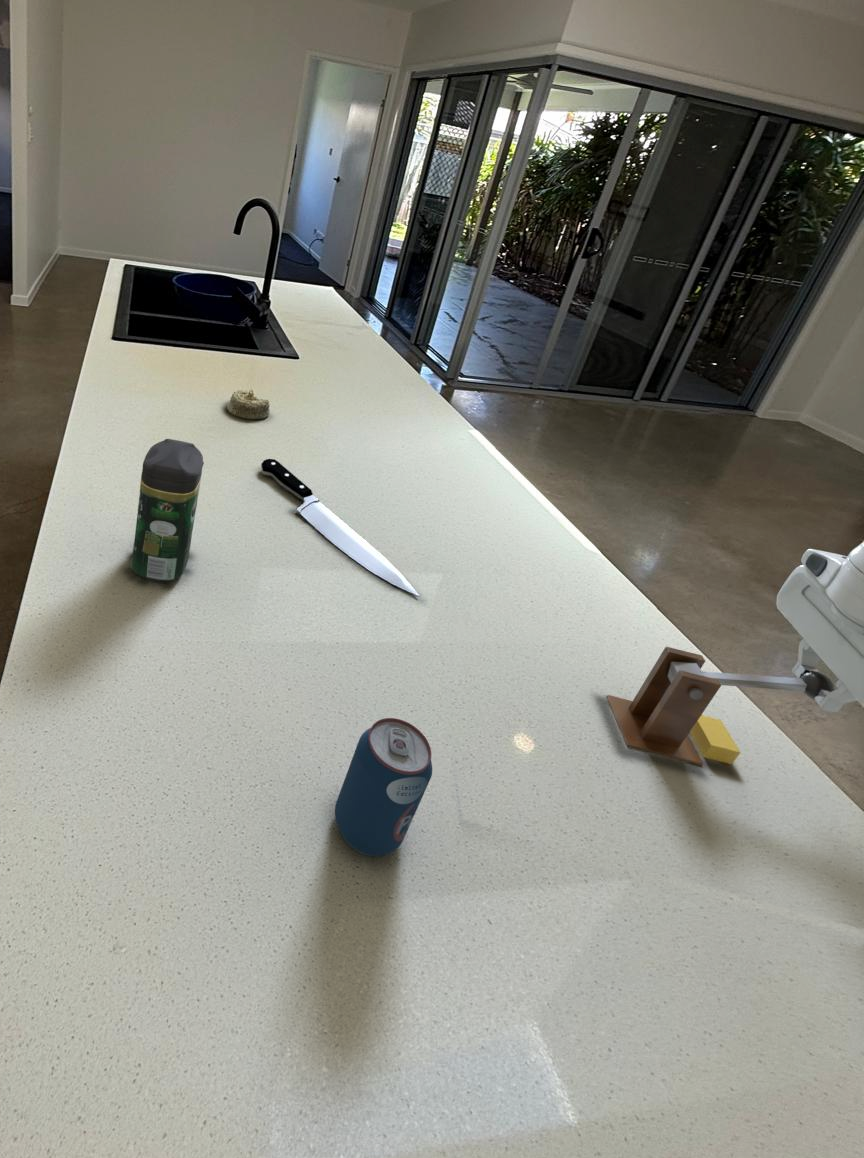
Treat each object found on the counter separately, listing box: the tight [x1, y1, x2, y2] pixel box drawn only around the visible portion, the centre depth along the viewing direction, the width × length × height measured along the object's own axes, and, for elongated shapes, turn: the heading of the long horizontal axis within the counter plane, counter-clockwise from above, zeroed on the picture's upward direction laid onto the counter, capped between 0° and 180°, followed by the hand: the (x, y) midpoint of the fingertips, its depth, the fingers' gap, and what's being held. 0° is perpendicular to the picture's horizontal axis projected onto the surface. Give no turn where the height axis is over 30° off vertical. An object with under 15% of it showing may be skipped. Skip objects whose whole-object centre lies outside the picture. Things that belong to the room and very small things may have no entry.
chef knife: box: [260, 458, 420, 597], centre depth 112 cm, size 5×41×2 cm, turn 36°
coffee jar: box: [130, 438, 205, 583], centre depth 91 cm, size 10×8×19 cm
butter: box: [689, 714, 741, 765], centre depth 82 cm, size 4×5×3 cm
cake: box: [226, 389, 271, 420], centre depth 149 cm, size 10×10×5 cm
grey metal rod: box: [668, 662, 836, 701], centre depth 77 cm, size 17×3×3 cm, turn 81°
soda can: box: [334, 717, 433, 857], centre depth 61 cm, size 7×7×12 cm
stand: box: [605, 646, 722, 766], centre depth 80 cm, size 9×8×12 cm
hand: (812, 691), depth 76 cm, fingers closed on grey metal rod, 3 cm apart
